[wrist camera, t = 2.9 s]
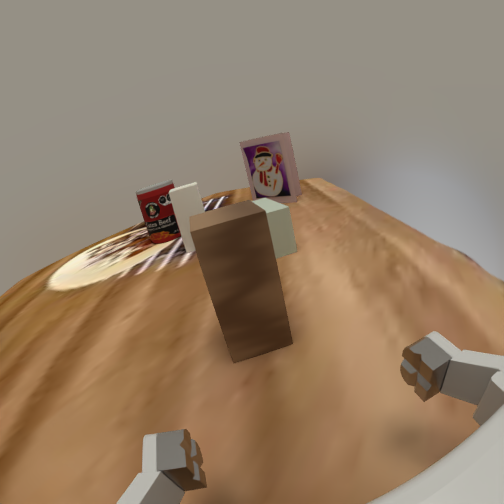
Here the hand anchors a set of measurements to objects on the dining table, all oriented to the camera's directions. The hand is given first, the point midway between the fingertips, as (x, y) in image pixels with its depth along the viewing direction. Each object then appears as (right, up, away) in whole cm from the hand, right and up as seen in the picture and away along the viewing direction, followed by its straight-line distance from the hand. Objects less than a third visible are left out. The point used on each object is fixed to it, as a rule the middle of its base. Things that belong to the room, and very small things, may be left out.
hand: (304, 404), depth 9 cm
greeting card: (+5, +17, +57) cm, 60 cm away
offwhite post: (-10, +6, +39) cm, 41 cm away
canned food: (-19, +8, +49) cm, 53 cm away
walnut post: (-1, -1, +13) cm, 14 cm away
